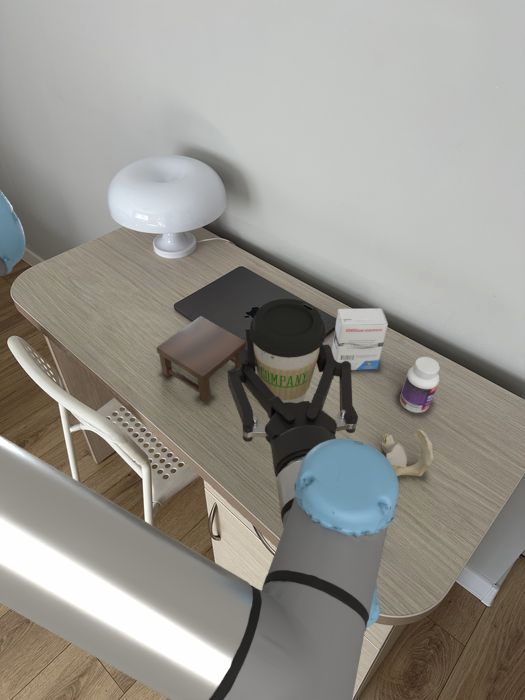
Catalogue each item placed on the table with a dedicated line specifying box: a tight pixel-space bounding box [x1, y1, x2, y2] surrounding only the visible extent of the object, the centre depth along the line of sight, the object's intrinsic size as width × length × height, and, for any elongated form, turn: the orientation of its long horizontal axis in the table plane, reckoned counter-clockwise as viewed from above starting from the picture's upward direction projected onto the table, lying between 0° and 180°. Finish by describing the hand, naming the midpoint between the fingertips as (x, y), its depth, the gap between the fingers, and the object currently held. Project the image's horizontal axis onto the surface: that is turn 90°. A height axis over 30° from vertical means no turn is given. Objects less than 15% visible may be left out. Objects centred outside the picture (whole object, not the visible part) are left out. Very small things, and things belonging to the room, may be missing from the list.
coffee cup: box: [248, 298, 327, 403], centre depth 67 cm, size 10×10×15 cm
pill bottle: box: [399, 356, 440, 414], centre depth 86 cm, size 5×5×10 cm
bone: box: [380, 428, 435, 477], centre depth 76 cm, size 9×6×10 cm
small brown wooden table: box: [156, 315, 246, 403], centre depth 92 cm, size 12×12×7 cm
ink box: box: [331, 308, 389, 371], centre depth 92 cm, size 8×5×12 cm, turn 93°
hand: (281, 334), depth 69 cm, fingers closed on coffee cup, 9 cm apart
